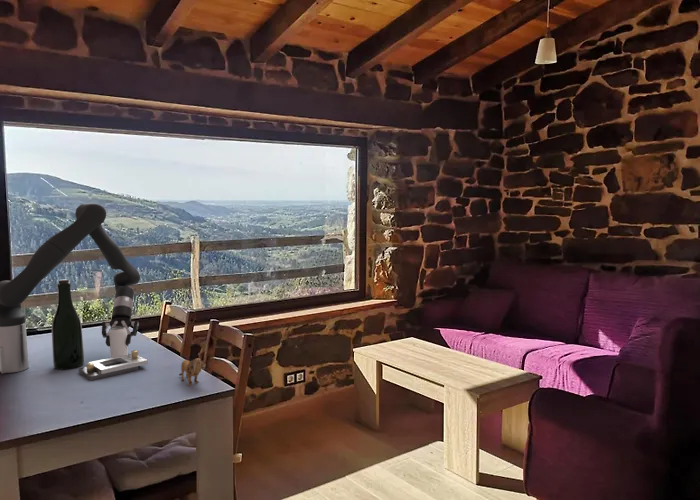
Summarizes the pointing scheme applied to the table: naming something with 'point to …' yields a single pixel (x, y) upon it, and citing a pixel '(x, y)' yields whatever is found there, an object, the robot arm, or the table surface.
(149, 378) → the table surface
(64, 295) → the green wine bottle
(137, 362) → the upper link
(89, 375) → the lower link
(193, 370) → the lion figurine
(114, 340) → the can
